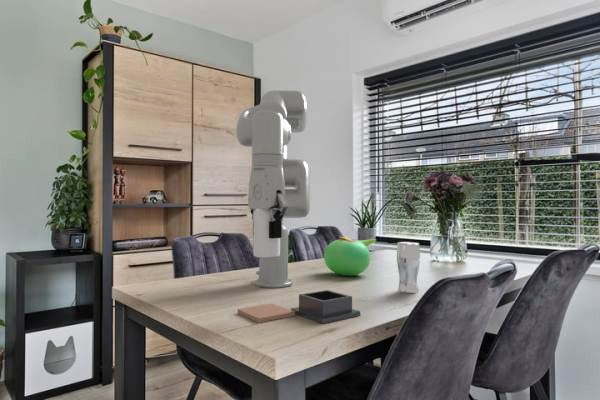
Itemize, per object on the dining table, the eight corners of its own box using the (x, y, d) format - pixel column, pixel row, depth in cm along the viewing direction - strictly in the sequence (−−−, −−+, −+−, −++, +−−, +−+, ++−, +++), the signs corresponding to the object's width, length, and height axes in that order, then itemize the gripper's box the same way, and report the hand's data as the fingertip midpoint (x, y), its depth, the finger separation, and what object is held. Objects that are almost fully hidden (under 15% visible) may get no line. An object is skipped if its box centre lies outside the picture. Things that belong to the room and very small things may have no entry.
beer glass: (420, 294, 124) (421, 244, 124) (396, 293, 125) (397, 243, 125) (418, 289, 130) (419, 242, 131) (396, 288, 132) (396, 241, 132)
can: (253, 255, 103) (253, 207, 103) (279, 254, 104) (279, 207, 104) (253, 258, 97) (253, 207, 97) (280, 258, 97) (280, 207, 97)
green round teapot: (315, 274, 157) (315, 235, 157) (344, 269, 169) (344, 233, 169) (351, 281, 144) (351, 239, 144) (380, 275, 155) (381, 236, 156)
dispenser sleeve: (290, 312, 102) (291, 294, 102) (327, 305, 109) (327, 288, 109) (322, 323, 92) (322, 303, 92) (360, 315, 100) (360, 296, 100)
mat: (237, 313, 101) (237, 309, 101) (271, 307, 107) (271, 303, 107) (259, 322, 93) (259, 318, 93) (294, 315, 99) (294, 311, 99)
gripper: (236, 164, 105) (235, 235, 105) (274, 159, 91) (273, 240, 91) (261, 166, 110) (261, 234, 109) (301, 161, 96) (300, 239, 96)
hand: (266, 236), depth 100 cm, fingers closed on can, 6 cm apart
